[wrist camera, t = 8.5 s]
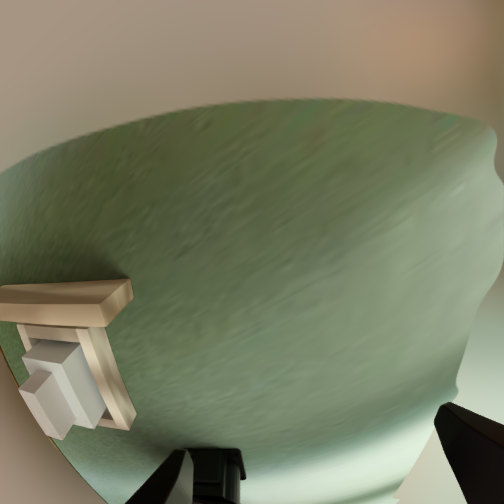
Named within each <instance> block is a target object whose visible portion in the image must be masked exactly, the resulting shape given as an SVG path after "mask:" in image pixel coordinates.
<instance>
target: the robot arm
mask: <svg viewBox="0 0 504 504" xmlns="http://www.w3.org/2000/svg"><path fill="white" fill-rule="evenodd" d="M434 425H435V428H436V431H437V433H438V436H439V439H440V441H441V445H442V447H443V450H444V453H445V455H446V457H447V459H448V462H449V464H450V466H451V468H452V470H453V472H454V474H455V477H456V479H457V481H458V483H459V485H460V487H461V490H462V492H463V495H464V497H465V499H466V502H467V504H504V425H503V424H500V423H498V422H495V421H493V420H491V419H488V418H486V417H483V416H481V415H479V414H476V413H474V412H472V411H470V410H467V409H465V408H463V407H461V406H458V405H456V404H454V403H452V402H447V403H445V404H443V405H441V406H440V407H439V409H438V412H437V414H436V416H435V419H434ZM245 479H246V472H245V468H244V463H243V459H242V454H241V451H240V450H194V449H174V450H173V451H172V452H171V454H170V455H169V456H168V457H167V458H166V459H165V460H164V462H163V463H162V464H161V465H160V466H159V467H158V468H157V469H156V471H155V472H154V473H153V474H152V475H151V476H150V477H149V478H148V479H147V480H146V482H145V483H144V484H143V485H142V486H141V487H140V488H139V489H138V490H137V491H136V492H135V493H134V494H133V495H132V497H131V498H130V499H129V500H128V501H127V502H126V503H125V504H240V480H245Z"/></svg>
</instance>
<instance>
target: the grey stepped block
mask: <svg viewBox="0 0 504 504" xmlns="http://www.w3.org/2000/svg"><path fill="white" fill-rule="evenodd" d="M22 359H23V361H24V364H25V366H26V368H27V370H28V372H29V374H30V377H29V378H28V379H27V380H26V381H25V382H24V383H23V384H22V385H21V386H20V388H19V389H18V390H19V392H20V394H21V395H22V397H23V399H24V401H25V402H26V404H27V406H28V407H29V409H30V411H31V413H32V414H33V416H34V417H35V419H36V420H37V422H38V424H39V425H40V427H41V428H42V430H43V431H44V432H45V434H46V435H47V436H50V437H53V438H56V439H59V440H62V441H63V439H64V438H65V436H66V435H67V433H68V431H69V430H70V428H71V427H72V425H73V424H74V425H78V426H82V427H86V428H91V429H95V427H96V425H97V424H98V422H99V420H100V418H101V416H102V415H103V413H104V411H105V409H106V407H107V406H106V404H105V402H104V400H103V397H102V395H101V393H100V391H99V389H98V386H97V384H96V382H95V380H94V377H93V375H92V372H91V370H90V368H89V365H88V363H87V360H86V357H85V355H84V352H83V349H82V347H81V344H80V342H67V341H56V340H47V339H42V340H41V341H39V342H38V343H37V344H36V345H35V346H34V347H32V348H31V349H30V350H29V351H28V352H27V353H26V354H24V355H23V356H22Z"/></svg>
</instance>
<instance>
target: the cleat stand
mask: <svg viewBox="0 0 504 504" xmlns="http://www.w3.org/2000/svg"><path fill="white" fill-rule="evenodd" d="M133 298H134V295H133V291H132V286H131V281H130V279H115V280H98V281H81V282H62V283H42V284H20V285H3V286H1V287H0V320H2V321H11V322H19V323H17V324H16V325H17V328H18V331H19V334H20V336H21V339H22V342H23V344H24V347H25V349H26V352H28V351H29V350H30V349H31V348H32V347H34V346H35V345H36V344H37V343H38V342H39V341H41V340H42V339H47V340H56V341H67V342H80V344H81V347H82V349H83V352H84V355H85V357H86V360H87V363H88V365H89V368H90V370H91V372H92V375H93V377H94V380H95V382H96V384H97V386H98V389H99V391H100V393H101V395H102V397H103V400H104V402H105V404H106V406H107V407H106V409H105V411H104V413H103V415H102V416H101V418H100V420H99V422H98V424H97V425H99V426H104V427H110V428H116V429H122V430H130V428H131V426H132V423H133V421H134V419H135V416H136V414H137V413H136V411H135V409H134V407H133V404H132V402H131V400H130V397H129V395H128V393H127V390H126V388H125V385H124V383H123V380H122V378H121V375H120V372H119V370H118V367H117V364H116V361H115V358H114V356H113V353H112V350H111V347H110V344H109V340H108V337H107V334H106V331H105V327H107V325H108V324H109V323H110V322H111V321H112V320H113V319H114V318H115V317H116V316H117V315H118V314H119V313H120V312H121V310H122V309H123V308H124V307H125V306H126V305H127V304H128V303H129V302H130V301H131V300H132V299H133Z"/></svg>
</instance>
